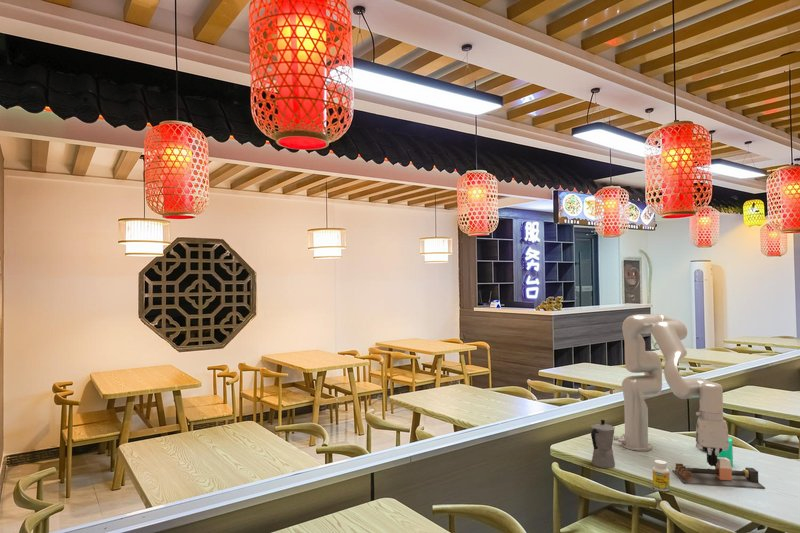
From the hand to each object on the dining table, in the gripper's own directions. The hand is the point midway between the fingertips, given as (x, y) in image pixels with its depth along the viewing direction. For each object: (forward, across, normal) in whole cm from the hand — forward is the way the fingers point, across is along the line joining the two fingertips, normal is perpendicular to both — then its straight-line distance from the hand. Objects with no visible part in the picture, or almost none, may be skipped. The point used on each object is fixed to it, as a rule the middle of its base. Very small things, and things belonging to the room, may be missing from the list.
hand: (712, 464), depth 192 cm
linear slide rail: (+6, +2, 0) cm, 6 cm away
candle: (+6, +11, +18) cm, 22 cm away
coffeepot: (+6, -38, +9) cm, 39 cm away
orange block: (+5, +4, 0) cm, 6 cm away
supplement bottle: (+6, -21, -12) cm, 25 cm away
